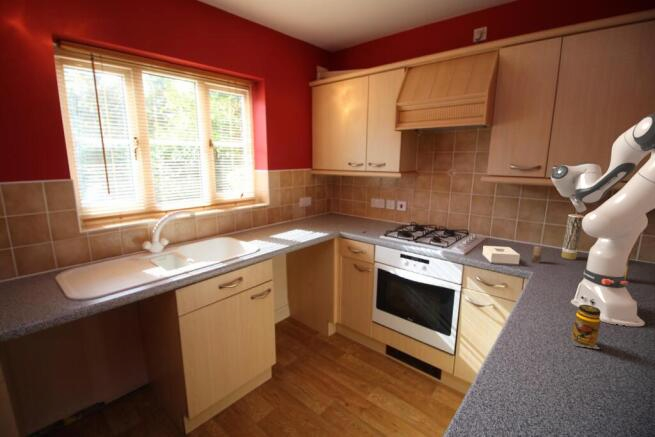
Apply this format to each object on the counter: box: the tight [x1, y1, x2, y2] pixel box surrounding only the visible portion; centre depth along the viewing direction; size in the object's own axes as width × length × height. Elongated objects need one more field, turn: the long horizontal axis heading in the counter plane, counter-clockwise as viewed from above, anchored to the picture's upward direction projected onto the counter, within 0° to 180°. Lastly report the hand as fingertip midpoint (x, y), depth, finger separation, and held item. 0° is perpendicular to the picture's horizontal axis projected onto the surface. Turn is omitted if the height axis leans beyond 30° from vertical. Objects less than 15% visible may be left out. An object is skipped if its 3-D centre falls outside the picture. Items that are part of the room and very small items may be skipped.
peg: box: [531, 244, 543, 264], centre depth 174 cm, size 4×4×9 cm
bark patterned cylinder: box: [561, 213, 585, 261], centre depth 179 cm, size 7×7×25 cm
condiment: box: [571, 305, 602, 347], centre depth 100 cm, size 7×8×12 cm
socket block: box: [481, 245, 521, 266], centre depth 176 cm, size 14×14×6 cm
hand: (576, 200), depth 162 cm, fingers open, 8 cm apart
